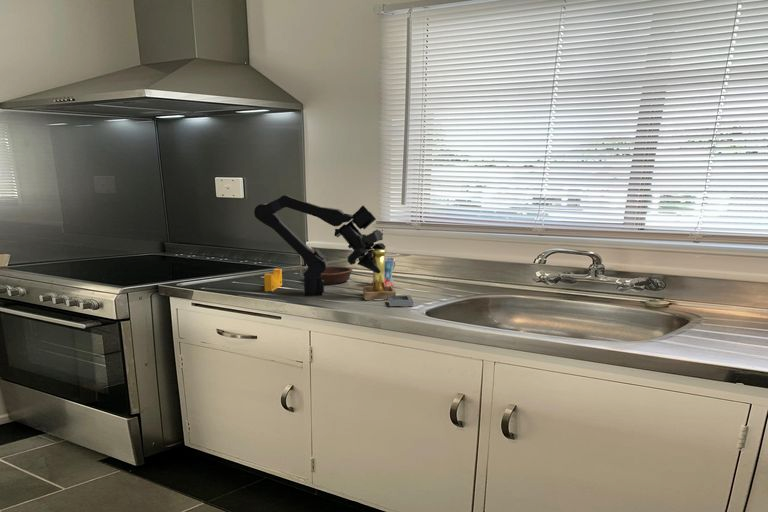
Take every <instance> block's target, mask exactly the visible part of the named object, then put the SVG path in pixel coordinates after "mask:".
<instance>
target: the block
mask: <svg viewBox="0 0 768 512" xmlns="http://www.w3.org/2000/svg"><path fill="white" fill-rule="evenodd" d="M386 301H388V302H387V304H388V303H389V304H388V307H389V306H413V307H414V299H413V298H412V297H411V295H410V294H409V295H407V294H405V295H403V294H402V295H396V296H387V300H386Z"/></svg>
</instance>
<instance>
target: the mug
mask: <svg viewBox="0 0 768 512" xmlns="http://www.w3.org/2000/svg"><path fill="white" fill-rule="evenodd" d="M395 261H396V259H395V258H394V257H387V256H385V268H386V270H385V281H384V286H393V287H394V285H395V283H394V282H395V281H394V280H393V275H392V274H393V272H394V270H395V267H396V262H395ZM371 286H373V281H372V282H371Z"/></svg>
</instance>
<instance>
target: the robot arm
mask: <svg viewBox="0 0 768 512" xmlns="http://www.w3.org/2000/svg"><path fill="white" fill-rule="evenodd" d="M285 208H289V209H292V210H294V211H296V212H300V213H304V214H307V215H310V216H313V217H316V218H318V219H320V220H321V221H323V222H324V223H327V224H328V225H330V226H332V227H339V226H340V227H339V228H334V236H335V237H336V238H339V237H340V236H341V237H342V238H343V239H344V240H345V242H346V243H347V244H348V246H347V247H348V249H352V250H353V251H352V252H351V253H350V254H349V255H348V256H347V262H348V263H349V265H350V266H352V265H355V264H356V261H357V259H358V262H357V265H358V266H360V267H363V268H365V269H368V270H370V271H372V272H373V271H374V272H376V273H380V270H379V268H378V266H377V265H376V263H375V262H374V260H373V254H372V252H371V250H373V249H385V250H386V249H387V247H386V245H385V244H384V243H382V242H378V241H382V240H384V238H383V235H384V233H383V232H382V231H381V230H379V229H375V230H373V231H372V232H371V233H369V234H362V232H360V231H359V230H362V229H363V230H366V229H367V228H368V227H369V226H370V225H372V224H373V223H374V222H375V221H376V220H377V218H376V217H375V216H374V215H373V213H372V212H371V211H370V210H369V209H368V208H367V207H365V205H363V204H362V205H361V207H359V209H357V211H355V213H353V214H351V213H345V212H344V211H343V210H342V209H339V208H333V207H324V206H319V205H316V204H313V203H310V202H308V201H305V200H302V199H298V198H295V197H292V196H291V195H288V194H284V195H281V196H280V197H279V198H277V199H274V200H272V201H271V202H269V203H267V202H266V203H261V204H258V205H256V206H255V208H254V211H253V212H254V213H253V214H254V217H255V218H256V219H257V220H258V221H259V222H261V223H263V224H264V225H265V226H268V227H269V228H271V229H272V230H274V231H275V232H276V234H278V235H279V236H280V237H281V238H282V240H284V241H285V242H286V243H287V244H288V245H289V246H290V247H291V248H292V249H294V251H295V252H296V253H297V254H298V255H299V256H300V257H301V258H302V260H303V262H304V264H305V265H306V267H307V268H306V269H305V270H304V271H303V288H304V289H303V291H304V292H303V296H305V297H306V296H310V297H311V296H323V293H324V291H325V284H324V280H322V276H320V275H321V273H323V272H324V271H325V269H326V267H328V261H327V259H326V255H324V254H323V253H322V252H321V251H320V250H319V249H318V248H316V249H315V250H313V249H312V248H310V247H309V246H308V245H307V244H306V243H305V242H304V241H303V240H302V239H301V238H300V237H299V236H298V235H297V234H296V233H294V231H293V230H292V229H291V228H290V227H289V226H288V225H286V223H285V222H284V221H282V219H281V217H280V216H279V214H278V211H281V210H283V209H285ZM345 223H347V224H345ZM376 242H378V243H376ZM385 270H386V268H385Z"/></svg>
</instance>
